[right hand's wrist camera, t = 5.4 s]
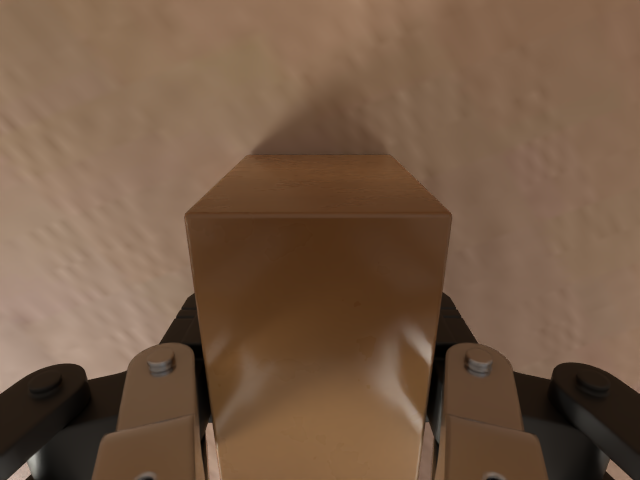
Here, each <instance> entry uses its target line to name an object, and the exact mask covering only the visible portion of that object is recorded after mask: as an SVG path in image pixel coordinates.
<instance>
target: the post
mask: <svg viewBox="0 0 640 480" xmlns="http://www.w3.org/2000/svg"><path fill="white" fill-rule="evenodd" d="M184 219H185V226H186V233H187V241H188V248H189V255H190V262H191V270H192V277H193V284H194V292H195V299H196V306H197V313H198V321H199V328H200V335H201V343H202V350H203V357H204V365H205V372H206V379H207V386H208V394H209V401H210V408H211V416H212V423H213V430H214V437H215V445H216V452H217V459H218V467H219V474H220V480H418V475H419V467H420V459H421V452H422V444H423V436H424V429H425V421H426V413H427V406H428V398H429V391H430V383H431V375H432V368H433V360H434V352H435V345H436V337H437V329H438V322H439V314H440V306H441V299H442V291H443V283H444V276H445V268H446V261H447V253H448V245H449V238H450V230H451V222H452V215H451V213H450V212H449V211H448V210H447V209H446V208H445V207H444V206H443V205H442V204H441V203H440V202H439V201H438V200H437V199H436V198H435V197H434V196H433V195H432V194H431V193H430V192H429V191H428V190H427V189H426V188H424V187H423V186H422V185H421V184H420V183H419V182H418V181H417V180H416V179H415V178H414V177H413V176H412V175H411V174H410V173H409V172H408V171H407V170H406V169H405V168H404V167H403V166H402V165H401V164H400V163H399V162H398V161H397V160H395V159H394V158H393V157H392V156H391V155H247V156H246V157H245V158H244V159H243V160H242V161H241V162H239V163H238V164H237V165H236V166H235V167H234V168H233V169H232V170H231V171H230V172H229V173H228V174H227V175H226V176H225V177H224V178H222V179H221V180H220V181H219V182H218V183H217V184H216V185H215V186H214V187H213V188H212V189H211V190H210V191H209V192H208V193H207V194H206V195H204V196H203V197H202V198H201V199H200V200H199V201H198V202H197V203H196V204H195V205H194V206H193V207H192V208H191V209H190V210H189V211H188V212H186V213H185V217H184Z"/></svg>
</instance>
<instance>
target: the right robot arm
mask: <svg viewBox="0 0 640 480" xmlns="http://www.w3.org/2000/svg"><path fill="white" fill-rule="evenodd" d="M425 422H429V423H430V426H431V429H432V432H433V435H434V440H433V448H432V463H431V478H430V480H614V479H613V478H612V477H611V476H610V475H609V474H608V473H607V472H606V468H607V466H608V463H609V460H610V459H611V460H612V461H613V462H614V463H616V464H617V465H618V466H619V467H620V468H621V469H622V470H623V471H624V472H625V473H626V474H628V475H629V476H630V477H631V478H632V479H633V480H640V394H639V393H637V392H636V391H635V390H633V389H632V388H630V387H629V386H628V385H626V384H625V383H623V382H622V381H620V380H619V379H618V378H616V377H614V376H613V375H611V374H609V373H608V372H606V371H604V370H601V369H599V368H596V367H593V366H590V365H587V364H582V363H574V362H571V363H562V364H559V365H558V366H556V367H555V368H554V370H553V373H552V377H551V380H549V379H545V378H540V377H535V376H530V375H526V374H521V373H517V372H514V371H513V369H512V366H511V364H510V362H509V361H508V359H507V358H506V357H505V356H503V355H502V354H501V353H499V352H498V351H496V350H494V349H492V348H490V347H488V346H485V345H481V344H478V343H477V341H476V339H475V338H474V336H473V334H472V333H471V331H470V330H469V328H468V326H467V325H466V323H465V321H464V320H463V318H461V315H460V313H459V312H458V310H456V307H455V305H454V303H453V302H452V300H451V299H450V297H449V296H447V295H446V294H444V293H443V292H442V299H441V306H440V314H439V322H438V329H437V337H436V345H435V352H434V360H433V368H432V375H431V383H430V391H429V398H428V406H427V413H426V421H425ZM208 423H212V416H211V408H210V401H209V394H208V386H207V379H206V372H205V365H204V357H203V350H202V343H201V335H200V328H199V321H198V313H197V306H196V299H195V293H194V294H192V295H191V296H190V297H188V298H187V300H186V302H185V303H184V305H183V306H182V310H180V311H179V313H178V314H177V316H176V319H174V321H173V322H172V324H171V326H170V327H169V329H168V330H167V332H166V334H165V335H164V337H163V338H162V340H161V342H160V343H159V345H155V346H152V347H150V348H148V349H146V350H144V351H142V352H141V353H139V354H138V355H137V356H135V357H134V358H133V359H132V361H131V362H130V364H129V366H128V369H127V371H124V372H122V373H118V374H114V375H109V376H105V377H100V378H95V379H91V380H87V376H86V373H85V370H84V369H83V368H82V367H81V366H79V365H76V364H57V365H52V366H49V367H45V368H43V369H40V370H37V371H35V372H33V373H31V374H29V375H27V376H26V377H24V378H23V379H21V380H20V381H18V382H17V383H15V384H14V385H12V386H11V387H10V388H8V389H7V390H5V391H4V392H3V393H1V394H0V480H7V479H8V478H9V477H10V476H11V475H12V474H14V473H15V472H16V471H17V470H18V469H19V468H20V467H21V466H22V465H23V464H24V463H26V462H27V464H28V466H29V469H30V471H31V475H30V476H29V477H28V478H27V479H26V480H210V478H209V463H208V448H207V440H206V433H205V430H206V427H207V424H208Z"/></svg>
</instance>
